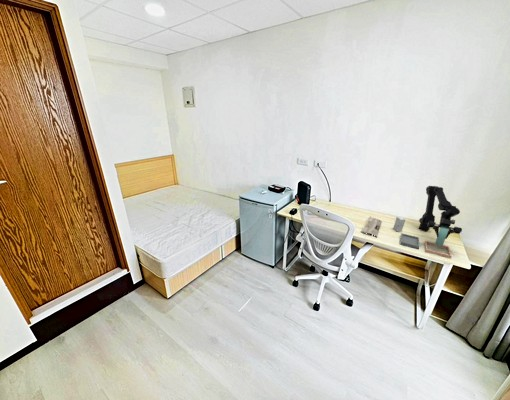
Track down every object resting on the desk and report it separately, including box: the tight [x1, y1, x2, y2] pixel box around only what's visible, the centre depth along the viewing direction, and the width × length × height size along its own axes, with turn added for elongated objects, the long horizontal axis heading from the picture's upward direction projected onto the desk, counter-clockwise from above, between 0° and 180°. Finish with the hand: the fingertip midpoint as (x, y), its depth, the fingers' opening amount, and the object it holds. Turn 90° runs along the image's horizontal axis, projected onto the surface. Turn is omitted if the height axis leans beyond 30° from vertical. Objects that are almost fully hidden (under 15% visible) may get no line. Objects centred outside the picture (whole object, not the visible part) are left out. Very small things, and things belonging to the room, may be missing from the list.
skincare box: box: [393, 216, 406, 233], centre depth 188 cm, size 6×4×12 cm
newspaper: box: [361, 216, 383, 238], centre depth 195 cm, size 35×12×4 cm, turn 145°
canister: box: [434, 227, 449, 247], centre depth 157 cm, size 4×4×14 cm
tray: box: [399, 232, 420, 250], centre depth 171 cm, size 16×12×2 cm
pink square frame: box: [424, 240, 453, 259], centre depth 161 cm, size 15×15×2 cm
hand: (441, 237), depth 156 cm, fingers closed on canister, 4 cm apart
